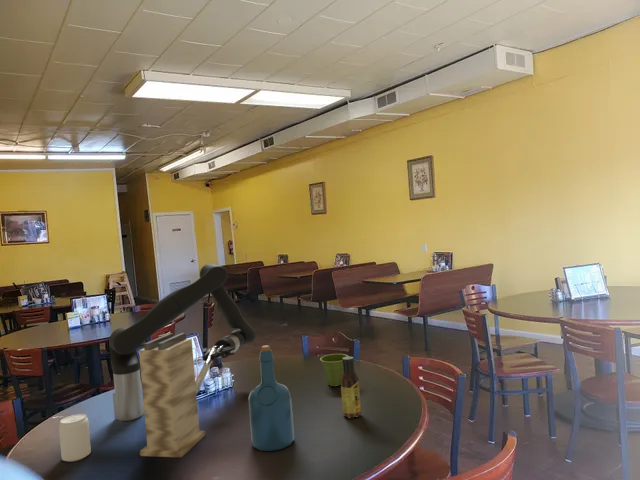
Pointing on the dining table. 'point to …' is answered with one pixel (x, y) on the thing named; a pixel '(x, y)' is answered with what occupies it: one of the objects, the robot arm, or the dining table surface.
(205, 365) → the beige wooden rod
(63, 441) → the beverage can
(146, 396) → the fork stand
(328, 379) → the plant pot
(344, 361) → the sauce bottle
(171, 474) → the dining table surface
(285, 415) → the wine bottle
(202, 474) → the dining table surface
